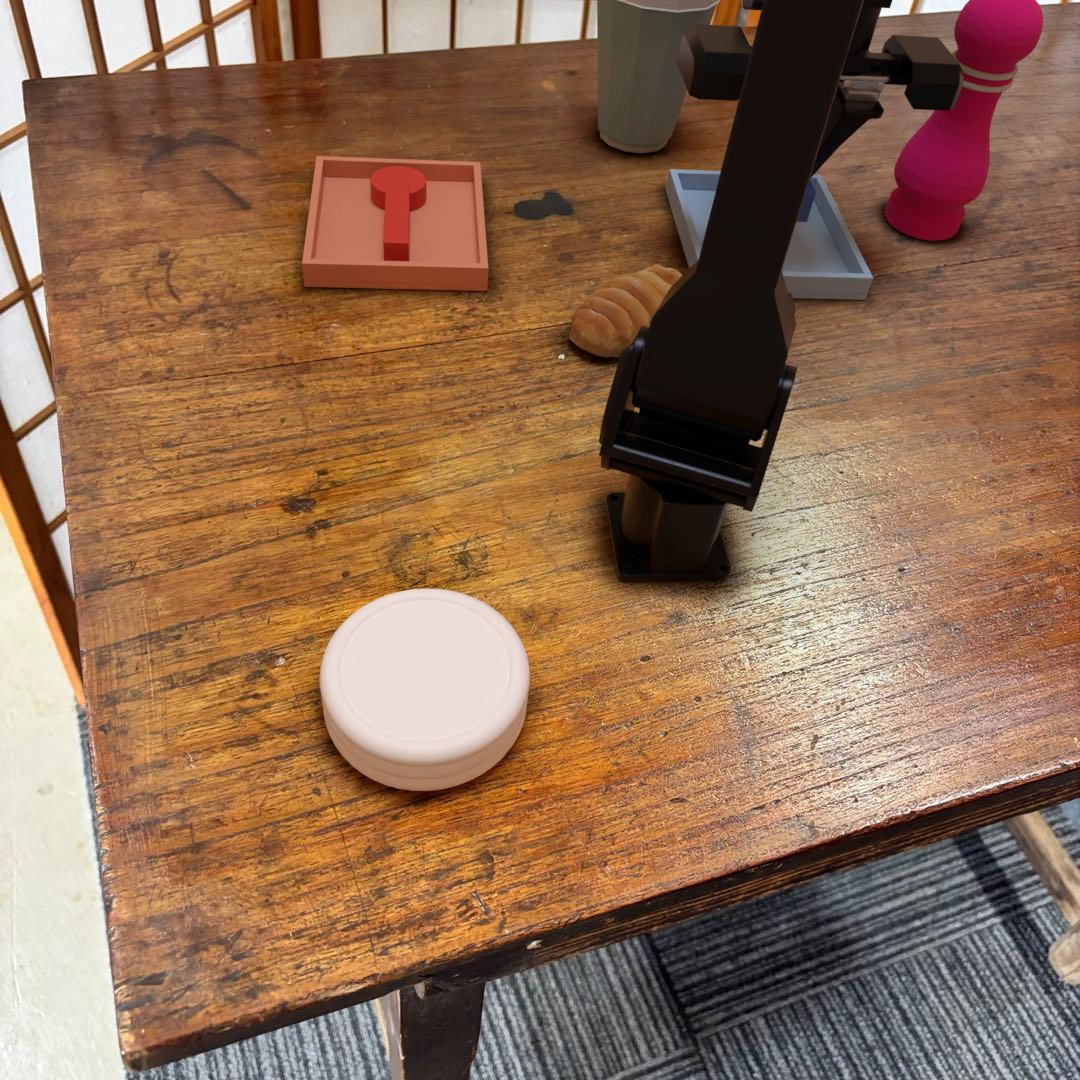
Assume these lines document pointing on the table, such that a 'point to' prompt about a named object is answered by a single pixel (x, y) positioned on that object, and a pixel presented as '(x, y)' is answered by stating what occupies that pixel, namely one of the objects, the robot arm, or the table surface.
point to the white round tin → (424, 688)
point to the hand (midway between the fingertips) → (786, 182)
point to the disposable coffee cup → (642, 68)
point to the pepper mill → (962, 121)
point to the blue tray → (815, 249)
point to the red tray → (358, 228)
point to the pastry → (620, 310)
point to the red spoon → (397, 206)
